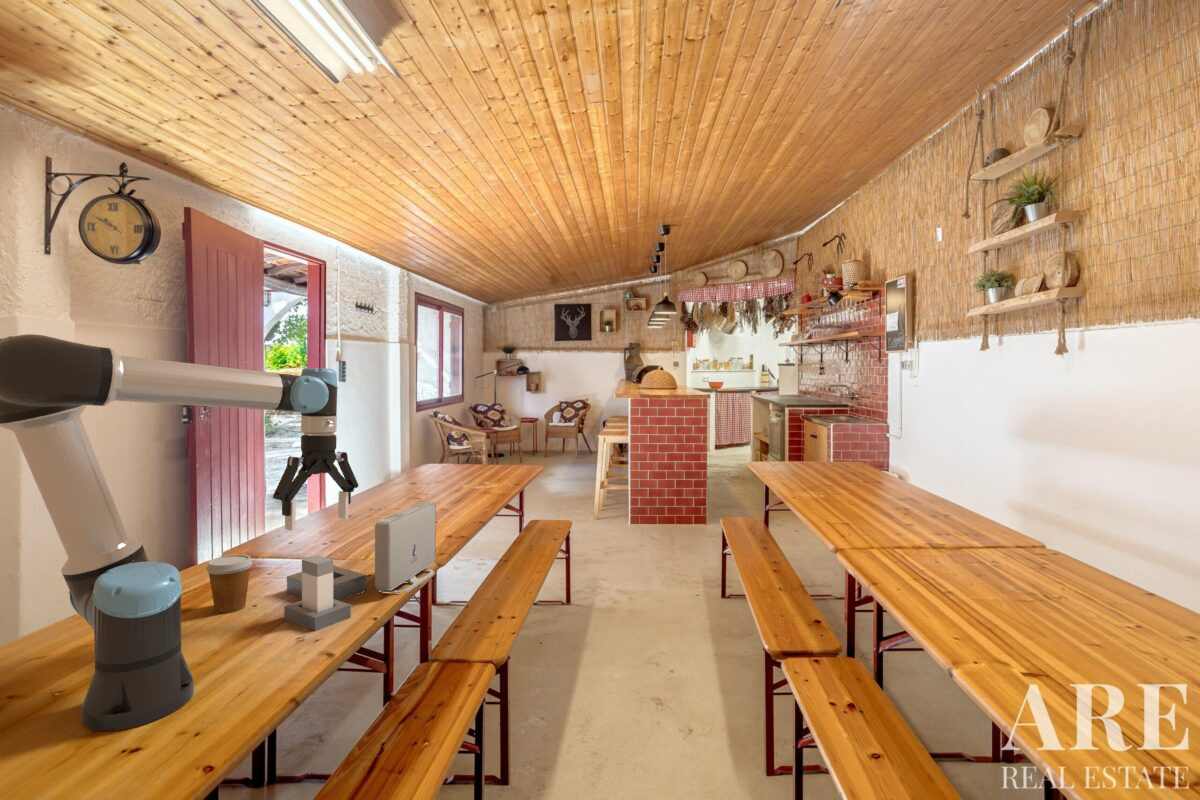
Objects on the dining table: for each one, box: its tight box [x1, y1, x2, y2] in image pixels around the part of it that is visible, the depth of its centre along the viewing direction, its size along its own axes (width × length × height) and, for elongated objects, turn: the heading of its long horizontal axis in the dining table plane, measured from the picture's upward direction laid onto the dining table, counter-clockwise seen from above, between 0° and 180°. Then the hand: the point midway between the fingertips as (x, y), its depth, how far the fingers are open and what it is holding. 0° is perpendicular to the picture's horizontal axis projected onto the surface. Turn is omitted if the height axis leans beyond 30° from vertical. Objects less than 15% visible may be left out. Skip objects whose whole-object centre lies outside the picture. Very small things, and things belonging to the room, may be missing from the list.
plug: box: [301, 554, 334, 613], centre depth 136 cm, size 4×6×14 cm, turn 59°
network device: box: [374, 501, 437, 594], centre depth 161 cm, size 26×9×20 cm, turn 168°
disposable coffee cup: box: [205, 553, 253, 614], centre depth 141 cm, size 10×10×12 cm
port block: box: [286, 564, 367, 601], centre depth 152 cm, size 12×16×5 cm
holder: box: [283, 599, 352, 632], centre depth 136 cm, size 9×12×3 cm
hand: (317, 523), depth 136 cm, fingers open, 13 cm apart
